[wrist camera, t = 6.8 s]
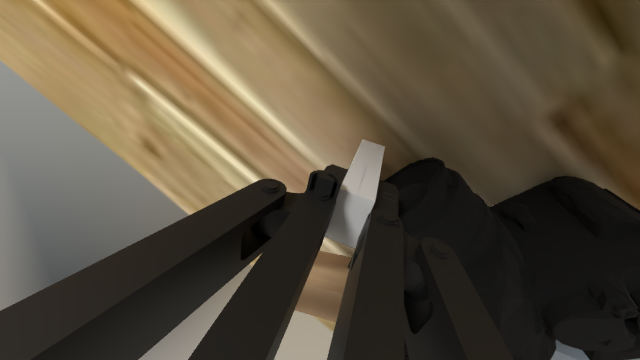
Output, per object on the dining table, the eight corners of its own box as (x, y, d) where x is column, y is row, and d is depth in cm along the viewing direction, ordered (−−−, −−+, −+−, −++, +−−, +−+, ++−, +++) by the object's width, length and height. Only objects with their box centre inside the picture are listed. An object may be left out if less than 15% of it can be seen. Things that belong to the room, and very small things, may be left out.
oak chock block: (301, 246, 23) (284, 278, 20) (362, 258, 22) (355, 296, 18) (303, 274, 25) (288, 308, 22) (359, 287, 24) (353, 326, 20)
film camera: (531, 82, 12) (731, 126, 5) (618, 211, 14) (875, 399, 6) (329, 211, 20) (286, 305, 13) (399, 285, 22) (397, 408, 14)
